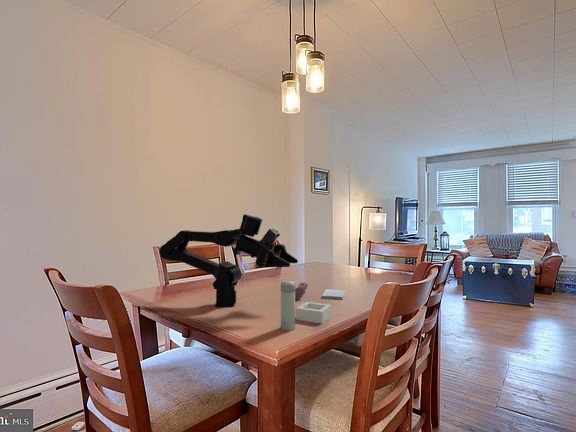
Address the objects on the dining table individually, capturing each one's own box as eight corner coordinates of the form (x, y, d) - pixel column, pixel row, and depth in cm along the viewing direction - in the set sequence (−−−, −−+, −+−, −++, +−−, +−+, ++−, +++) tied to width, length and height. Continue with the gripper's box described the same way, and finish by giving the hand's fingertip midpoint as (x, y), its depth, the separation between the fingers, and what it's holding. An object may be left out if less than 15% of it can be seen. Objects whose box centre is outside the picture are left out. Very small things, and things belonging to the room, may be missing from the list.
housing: (295, 319, 99) (295, 308, 99) (306, 312, 106) (306, 301, 106) (322, 323, 95) (322, 311, 95) (331, 315, 103) (331, 304, 103)
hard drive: (342, 297, 123) (345, 289, 135) (321, 295, 125) (325, 288, 137) (342, 301, 123) (345, 293, 135) (321, 299, 125) (325, 292, 137)
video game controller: (299, 304, 122) (307, 288, 122) (288, 298, 123) (297, 282, 123) (303, 298, 132) (310, 283, 131) (293, 292, 133) (301, 277, 132)
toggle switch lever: (280, 331, 88) (281, 283, 89) (280, 325, 93) (280, 280, 93) (295, 330, 89) (296, 283, 89) (294, 325, 93) (294, 280, 93)
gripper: (248, 226, 103) (293, 242, 98) (269, 225, 121) (307, 239, 116) (238, 258, 104) (282, 276, 99) (260, 253, 122) (298, 268, 117)
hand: (293, 263), depth 108 cm, fingers open, 9 cm apart
